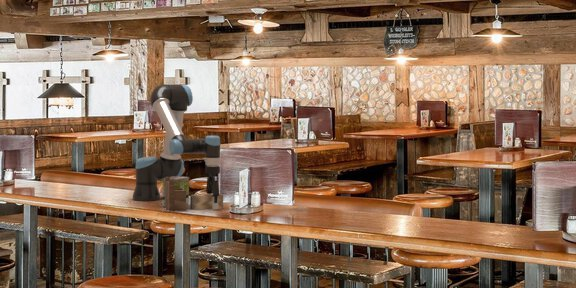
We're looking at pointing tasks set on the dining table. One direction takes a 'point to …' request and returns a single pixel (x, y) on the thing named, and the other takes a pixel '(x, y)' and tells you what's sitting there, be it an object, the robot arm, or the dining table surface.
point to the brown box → (174, 196)
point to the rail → (204, 201)
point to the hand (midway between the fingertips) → (212, 207)
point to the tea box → (178, 183)
